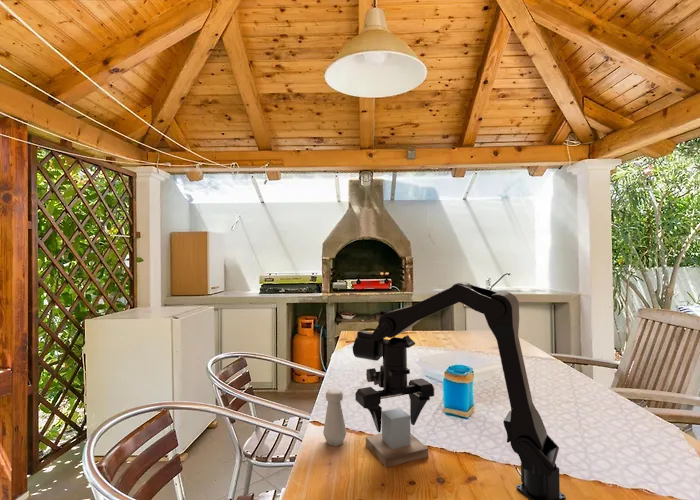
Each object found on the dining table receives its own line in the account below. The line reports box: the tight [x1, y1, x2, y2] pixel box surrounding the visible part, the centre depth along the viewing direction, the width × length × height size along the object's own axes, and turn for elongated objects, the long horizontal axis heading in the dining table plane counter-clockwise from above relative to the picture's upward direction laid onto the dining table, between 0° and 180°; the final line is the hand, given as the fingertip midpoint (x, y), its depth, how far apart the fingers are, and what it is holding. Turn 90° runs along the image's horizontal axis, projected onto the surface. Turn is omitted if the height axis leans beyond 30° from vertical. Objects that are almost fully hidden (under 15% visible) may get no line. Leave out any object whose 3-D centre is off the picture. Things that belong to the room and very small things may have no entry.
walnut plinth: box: [365, 432, 429, 468], centre depth 96 cm, size 11×11×2 cm
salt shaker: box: [322, 388, 347, 447], centre depth 101 cm, size 6×6×13 cm
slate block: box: [381, 407, 411, 449], centre depth 96 cm, size 5×5×7 cm
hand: (395, 428), depth 96 cm, fingers open, 9 cm apart
